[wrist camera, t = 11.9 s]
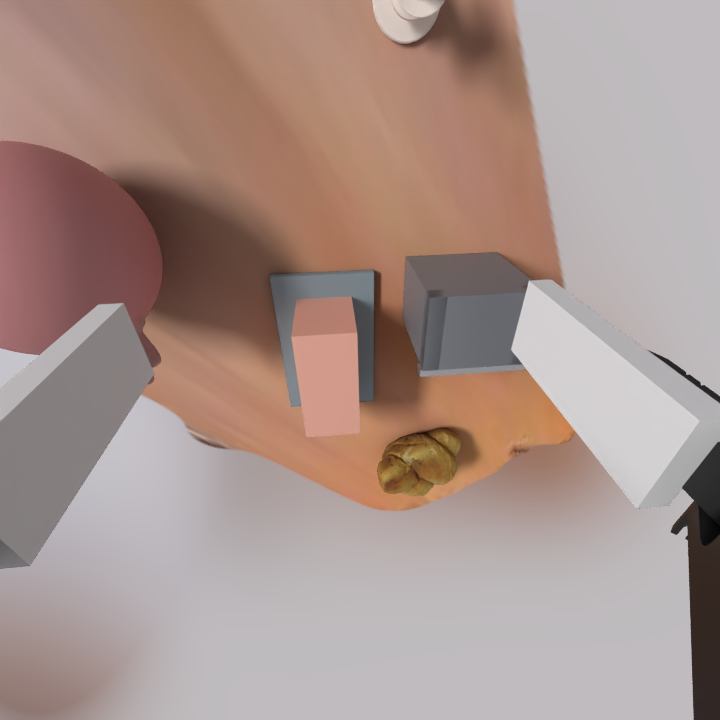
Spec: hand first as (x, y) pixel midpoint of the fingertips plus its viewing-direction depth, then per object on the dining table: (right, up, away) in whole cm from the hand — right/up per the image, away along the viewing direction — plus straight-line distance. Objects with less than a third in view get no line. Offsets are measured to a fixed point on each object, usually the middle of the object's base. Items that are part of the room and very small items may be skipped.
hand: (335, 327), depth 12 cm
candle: (+4, +26, +15) cm, 31 cm away
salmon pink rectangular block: (-3, 0, +31) cm, 31 cm away
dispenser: (+11, +7, +28) cm, 31 cm away
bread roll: (+10, -14, +44) cm, 47 cm away
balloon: (-23, +10, +23) cm, 34 cm away
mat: (-3, +1, +31) cm, 31 cm away
